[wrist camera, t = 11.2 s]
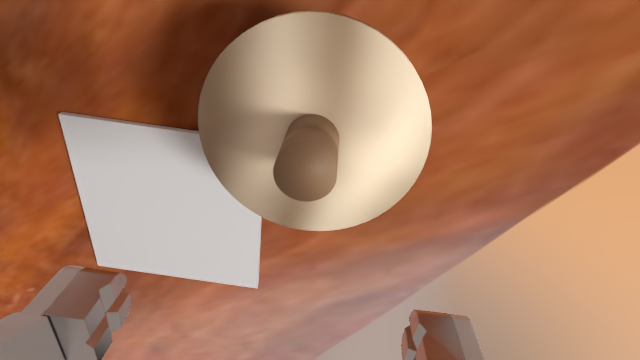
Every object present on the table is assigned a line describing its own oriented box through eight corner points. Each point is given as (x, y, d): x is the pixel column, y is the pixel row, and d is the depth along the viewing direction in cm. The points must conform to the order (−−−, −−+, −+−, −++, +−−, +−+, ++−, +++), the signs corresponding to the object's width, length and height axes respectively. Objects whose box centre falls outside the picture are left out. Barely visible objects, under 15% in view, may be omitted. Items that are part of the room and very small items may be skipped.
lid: (208, 207, 25) (178, 258, 20) (197, -7, 18) (149, 3, 14) (399, 233, 25) (409, 290, 20) (459, 29, 18) (492, 50, 14)
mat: (100, 262, 37) (97, 265, 36) (62, 111, 29) (58, 113, 28) (258, 284, 37) (257, 288, 36) (265, 140, 29) (264, 143, 28)
